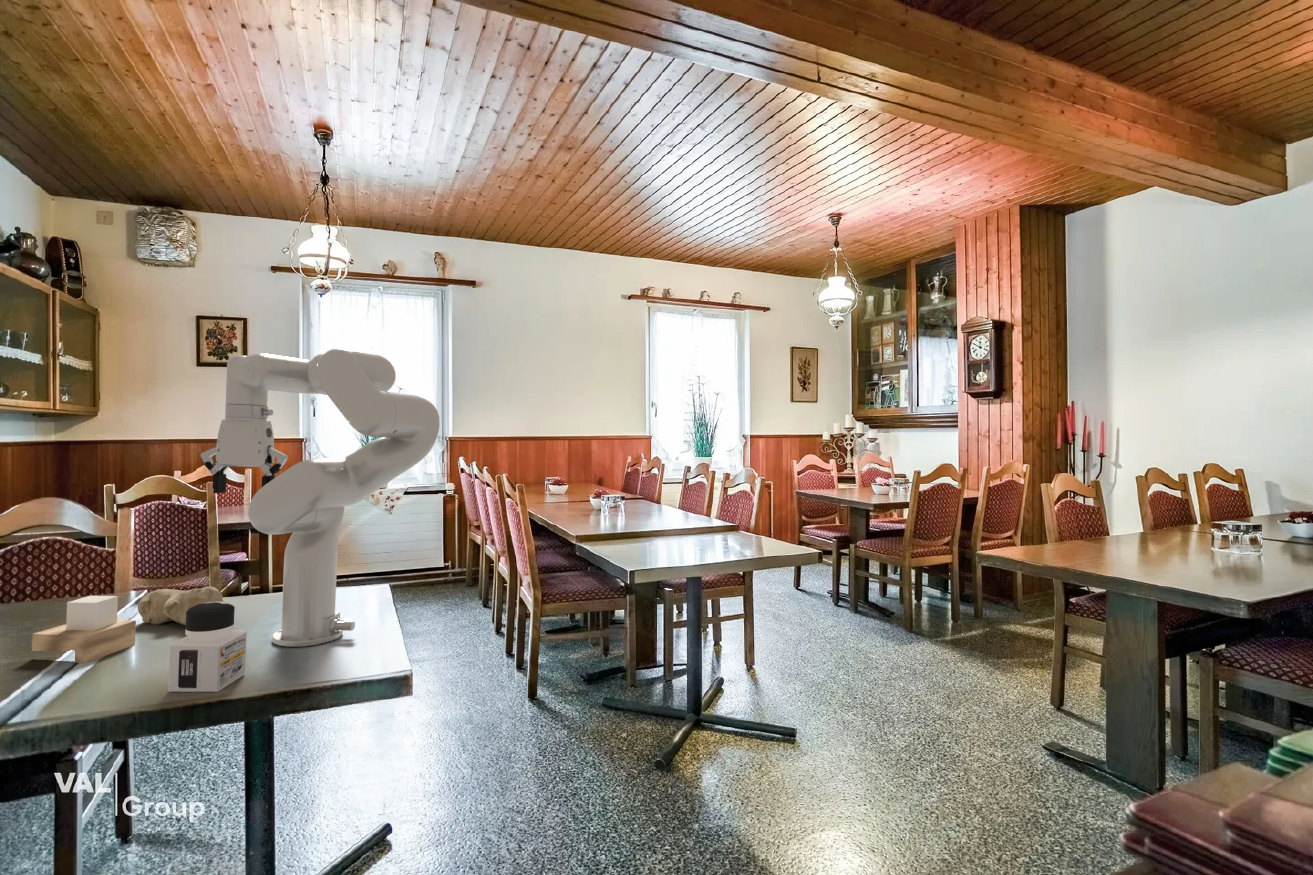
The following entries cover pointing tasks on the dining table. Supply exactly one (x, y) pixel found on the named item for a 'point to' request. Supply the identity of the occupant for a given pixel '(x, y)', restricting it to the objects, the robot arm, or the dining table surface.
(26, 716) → the dining table surface
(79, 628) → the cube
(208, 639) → the container
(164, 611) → the sculpture
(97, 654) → the oak block
